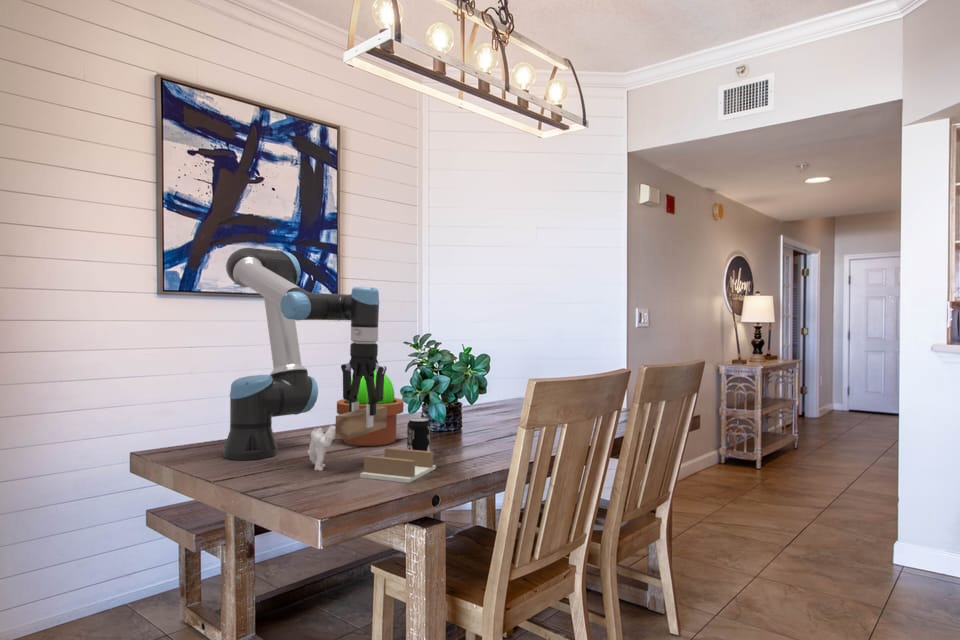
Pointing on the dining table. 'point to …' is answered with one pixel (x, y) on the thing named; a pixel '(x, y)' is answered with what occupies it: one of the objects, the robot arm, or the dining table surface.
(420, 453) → the rest stand
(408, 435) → the beverage can
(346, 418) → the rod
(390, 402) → the potted cactus
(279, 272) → the robot arm
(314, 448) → the figurine
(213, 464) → the dining table surface
